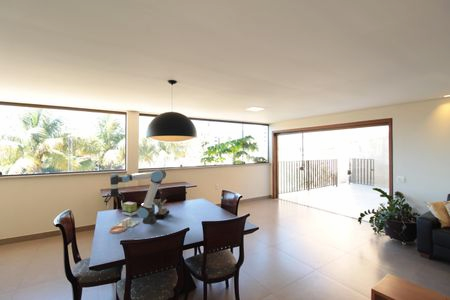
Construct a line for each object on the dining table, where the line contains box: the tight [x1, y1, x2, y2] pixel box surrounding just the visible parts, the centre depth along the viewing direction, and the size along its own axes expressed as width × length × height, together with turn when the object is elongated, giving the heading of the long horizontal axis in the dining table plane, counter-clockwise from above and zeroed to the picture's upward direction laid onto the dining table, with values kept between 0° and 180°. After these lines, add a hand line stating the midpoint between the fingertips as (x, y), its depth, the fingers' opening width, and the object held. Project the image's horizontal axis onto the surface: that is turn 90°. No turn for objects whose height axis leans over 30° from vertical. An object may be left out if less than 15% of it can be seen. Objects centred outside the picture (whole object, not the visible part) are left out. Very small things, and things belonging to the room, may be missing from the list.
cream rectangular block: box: [124, 217, 132, 224], centre depth 236 cm, size 4×4×6 cm
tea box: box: [121, 201, 138, 217], centre depth 272 cm, size 15×10×15 cm, turn 66°
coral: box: [152, 198, 170, 219], centre depth 264 cm, size 25×20×22 cm
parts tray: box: [112, 220, 140, 228], centre depth 232 cm, size 21×16×2 cm
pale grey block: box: [121, 218, 128, 226], centre depth 229 cm, size 4×4×6 cm
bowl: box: [109, 226, 127, 234], centre depth 216 cm, size 15×15×2 cm
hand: (115, 207), depth 230 cm, fingers open, 13 cm apart
